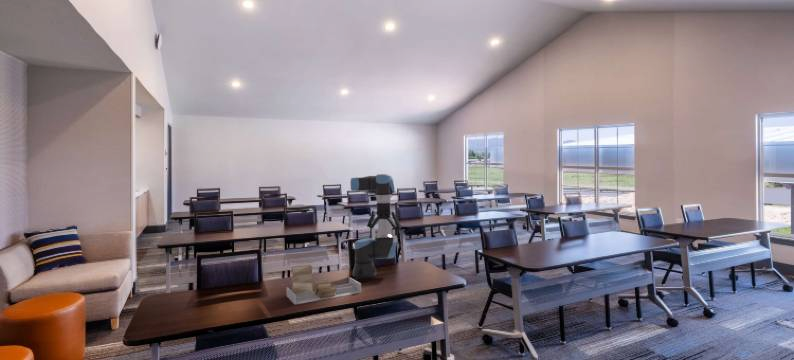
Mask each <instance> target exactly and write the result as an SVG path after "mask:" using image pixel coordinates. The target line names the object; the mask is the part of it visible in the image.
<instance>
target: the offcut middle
mask: <svg viewBox="0 0 794 360" xmlns="http://www.w3.org/2000/svg"><path fill="white" fill-rule="evenodd" d="M314 289H315V290H316V291H318V292H319V293H321V294H322V295H324V294H329V293H334V292H336V288H334V287H333V285H331V288H329V289H322V290H319V289H318V288H317V286H316V285H315V286H314Z"/></svg>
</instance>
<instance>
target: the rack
mask: <svg viewBox="0 0 794 360" xmlns="http://www.w3.org/2000/svg"><path fill="white" fill-rule="evenodd" d="M332 287H334V288H336V292H335V296H332V297H326V298H320V297H318V296H317V295H316V294H315V293H314V291H313V293H308V294H303V295H297V296H296V295H295V294H294V293H293V292H292V289H290V288H289V286H287V287H286V297H287V298H288V299H289V300H290V302H291V303H292V304H293V305H300V304H305V303H310V302H316V301H321V300H328V299H333V298H338V297H339V298H340V297H344V296H349V295H355V294H361V293H362V283H361V282H359V281H357V280H355V279H354V278H352V277H350V276H348V283H345V284H338V285H332Z"/></svg>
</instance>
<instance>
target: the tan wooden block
mask: <svg viewBox="0 0 794 360" xmlns="http://www.w3.org/2000/svg"><path fill="white" fill-rule="evenodd" d="M313 287H314V286H313V267H312V264H303V265H298V266H291V291H292V292H293V293H294V294H295V295H296V296H297V295H303V294H308V293H313V292H314V289H313Z"/></svg>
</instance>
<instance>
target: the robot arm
mask: <svg viewBox="0 0 794 360" xmlns="http://www.w3.org/2000/svg"><path fill="white" fill-rule="evenodd" d="M350 190H351V191H352V192H358V191H359V192H361V193H364V194H374V197H375V198H376V202H377V203H376V210H372V211H371V215H370V218H369V221H368V223H367V225H366V227H367V228H369V229H370V230H369V231H370V234H371V237H370V238H369V237H366V238H365V237H364V238H361V239H358V240H356V241H355V242H354V248H353V249H354V266H353V269H352V277H353V278H356V279H370V278H373V277H376V276H377V269H376V266H375V264H374V260H377V259H379V260H383V259H385V260H387V259H388V260H389V259H395V257H396V249H397V248H396V247H397V242H398V235H399V230H400V229H402V225H401V223H400V221H399V219H398V217H397V213H396V211H395V210H394V211H392V208H391V207H392V205H391V202H392V201H391V198H392V197H393V195H394V194H395V192H396V191H395V183H394V178H393V177H392V175H390V174H388V173H383V174H381V173H379V174H376V175H368V176H364V177H357V176H355V177H351V178H350ZM376 225H377V234H378V235H377V236H376V227H375V226H376ZM392 228H393V233H392ZM392 234H393V235H392Z"/></svg>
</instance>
